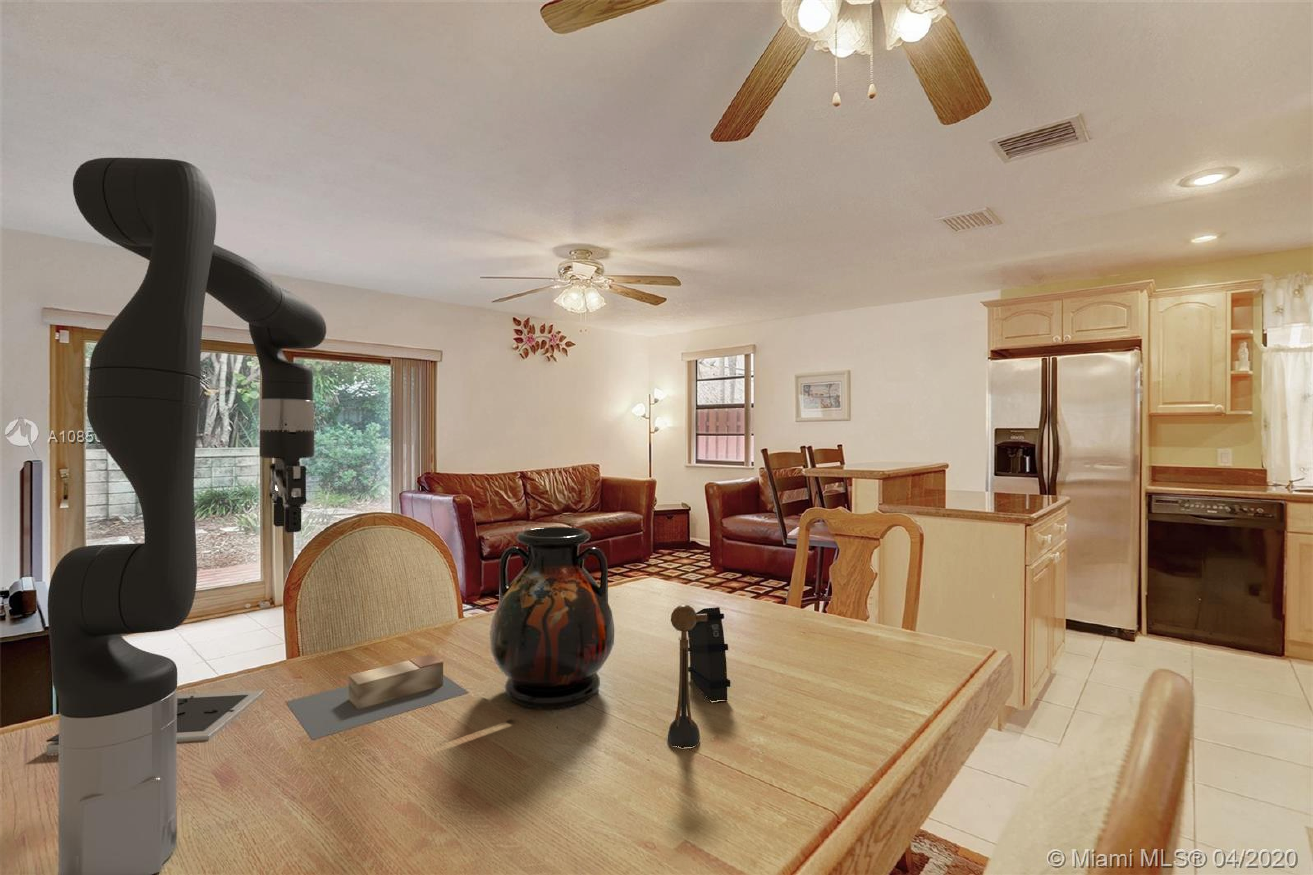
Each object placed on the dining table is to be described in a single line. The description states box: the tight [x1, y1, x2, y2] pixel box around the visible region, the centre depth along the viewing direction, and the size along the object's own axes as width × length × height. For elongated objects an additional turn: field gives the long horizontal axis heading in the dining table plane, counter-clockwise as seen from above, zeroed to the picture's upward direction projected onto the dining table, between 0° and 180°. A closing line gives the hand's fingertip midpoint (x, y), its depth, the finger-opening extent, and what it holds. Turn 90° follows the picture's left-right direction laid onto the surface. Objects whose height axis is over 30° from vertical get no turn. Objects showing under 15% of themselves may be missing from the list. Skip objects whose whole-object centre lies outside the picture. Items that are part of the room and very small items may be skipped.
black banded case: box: [687, 606, 731, 701], centre depth 107 cm, size 4×13×15 cm, turn 17°
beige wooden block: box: [348, 653, 444, 709], centre depth 103 cm, size 14×5×4 cm, turn 133°
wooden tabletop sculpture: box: [667, 604, 708, 748], centre depth 89 cm, size 6×5×20 cm
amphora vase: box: [489, 526, 615, 710], centre depth 106 cm, size 22×22×28 cm
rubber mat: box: [285, 674, 470, 741], centre depth 101 cm, size 17×24×1 cm
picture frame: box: [45, 689, 265, 756], centre depth 93 cm, size 16×3×21 cm
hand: (286, 528), depth 97 cm, fingers open, 8 cm apart
